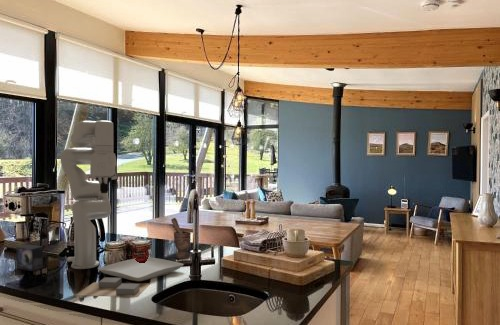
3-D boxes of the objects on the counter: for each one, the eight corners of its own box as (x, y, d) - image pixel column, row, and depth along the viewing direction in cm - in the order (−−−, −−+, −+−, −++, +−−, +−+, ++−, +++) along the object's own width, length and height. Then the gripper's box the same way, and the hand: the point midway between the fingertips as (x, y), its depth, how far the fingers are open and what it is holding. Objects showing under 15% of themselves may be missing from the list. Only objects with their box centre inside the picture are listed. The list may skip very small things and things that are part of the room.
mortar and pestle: (165, 258, 214) (165, 219, 214) (173, 254, 222) (173, 217, 222) (186, 259, 211) (186, 220, 210) (193, 255, 219) (193, 218, 219)
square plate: (185, 271, 190) (185, 262, 190) (138, 286, 167) (137, 277, 167) (144, 262, 205) (144, 254, 205) (96, 275, 183) (96, 267, 182)
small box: (15, 269, 194) (15, 246, 194) (27, 265, 200) (27, 244, 200) (32, 271, 190) (31, 248, 190) (43, 268, 196) (43, 245, 196)
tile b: (116, 288, 156) (134, 288, 156) (121, 283, 162) (139, 283, 162) (116, 294, 156) (134, 295, 156) (121, 289, 162) (139, 290, 162)
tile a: (98, 281, 164) (115, 282, 164) (104, 277, 170) (121, 277, 170) (98, 288, 164) (115, 288, 164) (104, 283, 170) (121, 283, 170)
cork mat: (75, 296, 156) (75, 295, 156) (93, 283, 172) (93, 282, 172) (137, 298, 154) (137, 296, 154) (150, 284, 170) (150, 283, 170)
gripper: (83, 149, 174) (83, 193, 174) (118, 149, 173) (118, 194, 173) (91, 150, 181) (91, 192, 182) (124, 150, 180) (124, 192, 181)
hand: (104, 192), depth 177 cm, fingers closed
